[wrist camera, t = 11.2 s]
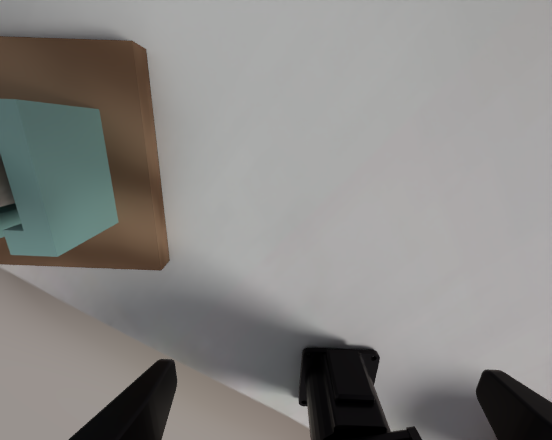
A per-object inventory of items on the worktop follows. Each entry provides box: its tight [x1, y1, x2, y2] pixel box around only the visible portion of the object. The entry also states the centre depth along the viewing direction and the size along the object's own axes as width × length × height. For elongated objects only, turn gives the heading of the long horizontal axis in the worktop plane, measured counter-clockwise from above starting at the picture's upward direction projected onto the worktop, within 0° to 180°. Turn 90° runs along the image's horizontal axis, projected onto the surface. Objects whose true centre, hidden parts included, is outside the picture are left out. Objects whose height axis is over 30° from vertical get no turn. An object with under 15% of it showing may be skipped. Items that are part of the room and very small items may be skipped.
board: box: [0, 36, 170, 270], centre depth 14 cm, size 14×12×8 cm
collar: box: [0, 99, 119, 257], centre depth 14 cm, size 7×7×5 cm
